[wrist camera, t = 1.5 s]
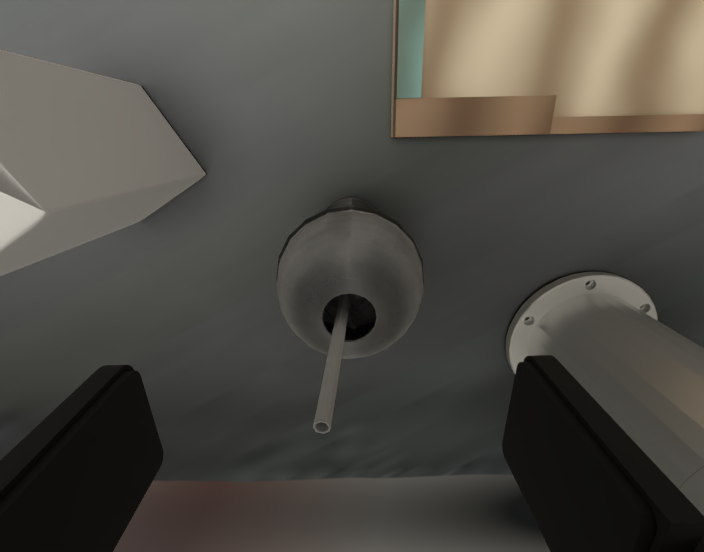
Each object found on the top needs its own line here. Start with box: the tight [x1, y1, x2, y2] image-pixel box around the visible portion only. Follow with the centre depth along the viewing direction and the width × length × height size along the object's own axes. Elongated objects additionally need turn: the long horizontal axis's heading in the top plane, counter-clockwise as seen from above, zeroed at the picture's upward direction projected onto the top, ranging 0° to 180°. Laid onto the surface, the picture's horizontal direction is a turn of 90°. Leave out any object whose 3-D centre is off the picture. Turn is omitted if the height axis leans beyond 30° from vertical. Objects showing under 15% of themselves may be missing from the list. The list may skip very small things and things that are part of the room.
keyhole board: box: [391, 0, 704, 137], centre depth 22 cm, size 22×13×3 cm, turn 91°
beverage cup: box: [277, 197, 424, 434], centre depth 19 cm, size 7×7×20 cm
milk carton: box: [0, 50, 206, 276], centre depth 17 cm, size 7×7×19 cm
